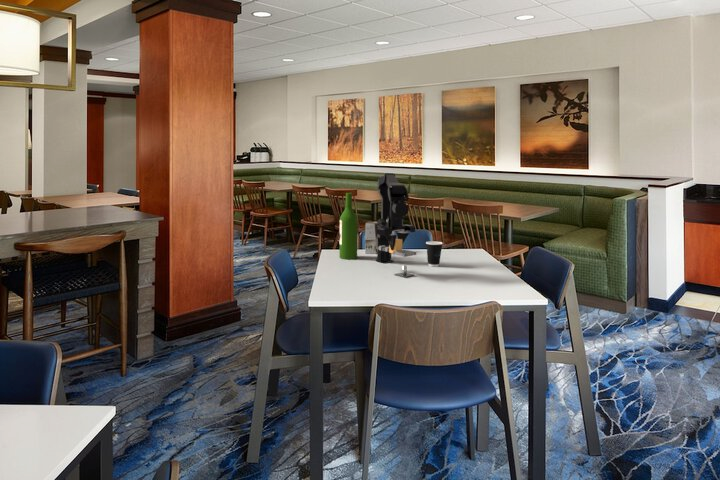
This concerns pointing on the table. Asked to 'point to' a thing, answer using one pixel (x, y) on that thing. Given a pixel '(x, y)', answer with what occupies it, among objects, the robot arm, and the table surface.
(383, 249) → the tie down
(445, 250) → the table surface
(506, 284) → the table surface
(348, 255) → the wine bottle
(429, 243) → the dixie cup
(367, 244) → the coffee box
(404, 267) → the keeper
